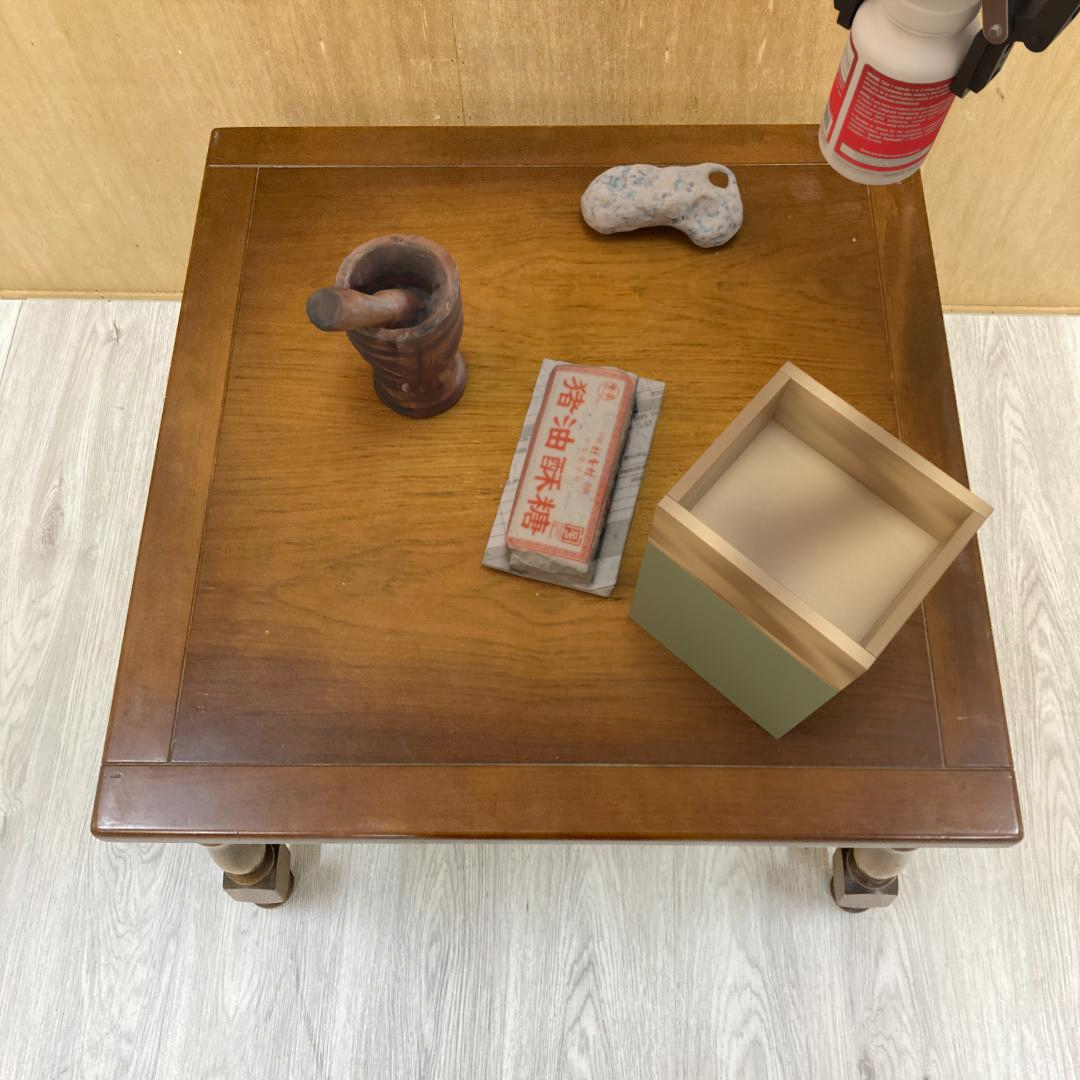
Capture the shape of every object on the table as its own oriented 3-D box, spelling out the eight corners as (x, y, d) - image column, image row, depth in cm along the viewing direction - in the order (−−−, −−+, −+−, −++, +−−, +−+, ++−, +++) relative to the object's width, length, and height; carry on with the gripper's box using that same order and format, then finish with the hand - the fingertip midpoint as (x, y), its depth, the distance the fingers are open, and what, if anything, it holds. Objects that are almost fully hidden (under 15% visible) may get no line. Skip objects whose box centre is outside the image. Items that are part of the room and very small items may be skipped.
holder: (955, 544, 59) (995, 508, 54) (838, 693, 56) (868, 669, 51) (767, 406, 62) (787, 360, 57) (647, 540, 59) (656, 504, 54)
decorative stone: (584, 262, 85) (586, 223, 80) (578, 196, 87) (579, 155, 83) (742, 252, 85) (754, 212, 81) (731, 187, 88) (742, 145, 83)
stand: (873, 619, 74) (955, 544, 59) (777, 740, 71) (838, 693, 56) (725, 505, 77) (767, 406, 62) (627, 616, 74) (647, 540, 59)
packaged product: (615, 582, 70) (477, 547, 71) (612, 602, 75) (481, 569, 76) (671, 360, 76) (543, 331, 77) (665, 391, 81) (543, 363, 82)
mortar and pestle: (457, 469, 79) (428, 329, 60) (347, 455, 79) (284, 313, 60) (480, 339, 83) (460, 170, 64) (376, 327, 83) (325, 156, 64)
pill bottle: (947, 167, 57) (1033, -2, 47) (851, 205, 56) (917, 42, 46) (889, 88, 59) (959, -90, 49) (795, 124, 58) (847, -49, 48)
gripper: (1304, -299, 35) (1072, 80, 50) (949, -459, 38) (835, -58, 54) (1192, -184, 33) (987, 173, 49) (830, -364, 36) (748, 23, 52)
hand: (908, 50), depth 51 cm, fingers closed on pill bottle, 6 cm apart
